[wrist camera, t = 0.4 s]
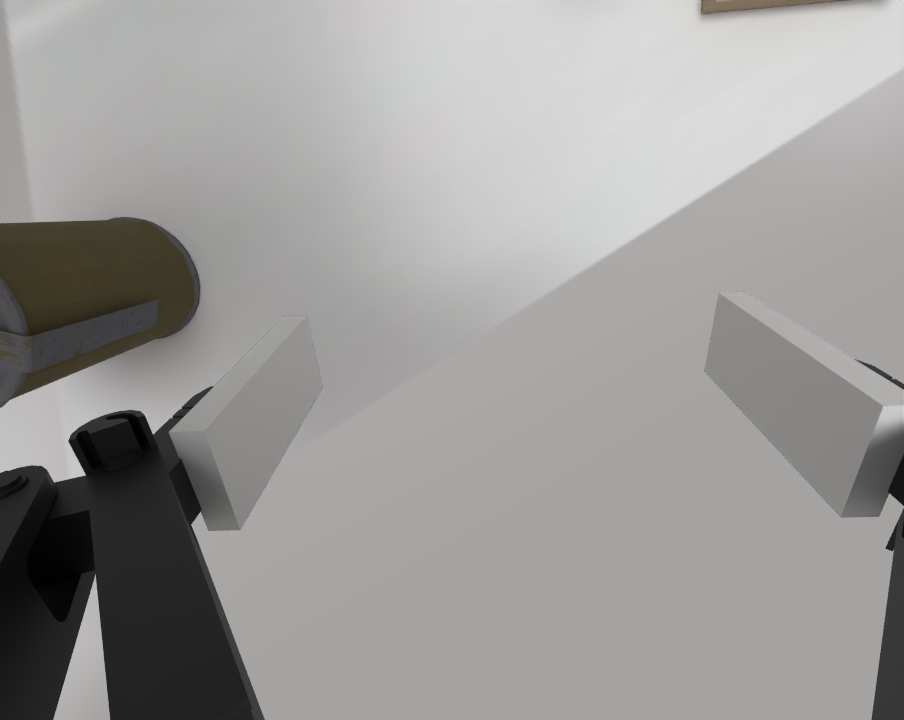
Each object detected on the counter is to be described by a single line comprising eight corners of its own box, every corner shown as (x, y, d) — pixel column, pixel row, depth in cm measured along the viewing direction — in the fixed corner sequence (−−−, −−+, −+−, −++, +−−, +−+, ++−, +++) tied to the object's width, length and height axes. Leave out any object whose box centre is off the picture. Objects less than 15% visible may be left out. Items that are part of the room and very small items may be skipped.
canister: (78, 322, 42) (-240, 414, 23) (80, 202, 39) (-285, 195, 20) (199, 352, 43) (-12, 466, 24) (211, 236, 40) (-22, 261, 21)
